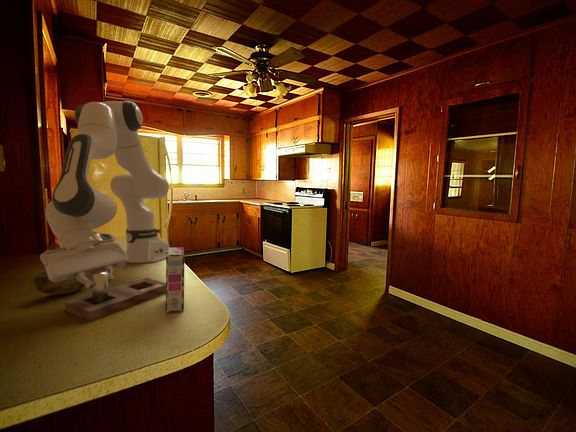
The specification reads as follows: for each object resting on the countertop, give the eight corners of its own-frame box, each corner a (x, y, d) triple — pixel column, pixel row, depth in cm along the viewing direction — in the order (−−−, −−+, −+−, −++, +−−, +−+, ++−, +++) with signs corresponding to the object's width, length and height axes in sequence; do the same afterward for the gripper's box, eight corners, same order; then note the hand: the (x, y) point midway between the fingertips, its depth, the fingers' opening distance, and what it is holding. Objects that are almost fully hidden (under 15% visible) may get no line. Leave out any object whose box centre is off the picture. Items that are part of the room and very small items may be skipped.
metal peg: (103, 296, 86) (102, 269, 85) (112, 299, 84) (110, 272, 84) (89, 301, 83) (87, 273, 82) (97, 304, 81) (96, 275, 80)
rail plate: (146, 284, 103) (146, 277, 103) (170, 291, 98) (169, 283, 97) (65, 310, 81) (64, 300, 81) (90, 320, 76) (89, 310, 75)
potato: (87, 293, 93) (86, 269, 92) (34, 302, 85) (32, 276, 84) (85, 286, 100) (84, 263, 99) (35, 293, 92) (34, 268, 91)
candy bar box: (184, 311, 83) (184, 254, 81) (165, 313, 81) (165, 255, 79) (184, 296, 93) (183, 246, 92) (166, 298, 91) (166, 246, 90)
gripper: (41, 245, 76) (63, 289, 72) (118, 233, 94) (139, 268, 90) (33, 259, 78) (54, 302, 75) (110, 245, 96) (130, 280, 93)
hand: (101, 283), depth 83 cm, fingers closed on metal peg, 4 cm apart
